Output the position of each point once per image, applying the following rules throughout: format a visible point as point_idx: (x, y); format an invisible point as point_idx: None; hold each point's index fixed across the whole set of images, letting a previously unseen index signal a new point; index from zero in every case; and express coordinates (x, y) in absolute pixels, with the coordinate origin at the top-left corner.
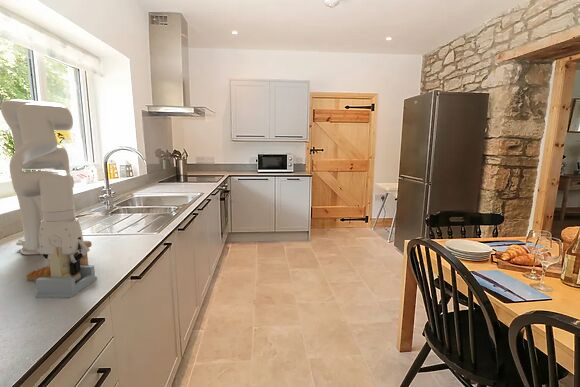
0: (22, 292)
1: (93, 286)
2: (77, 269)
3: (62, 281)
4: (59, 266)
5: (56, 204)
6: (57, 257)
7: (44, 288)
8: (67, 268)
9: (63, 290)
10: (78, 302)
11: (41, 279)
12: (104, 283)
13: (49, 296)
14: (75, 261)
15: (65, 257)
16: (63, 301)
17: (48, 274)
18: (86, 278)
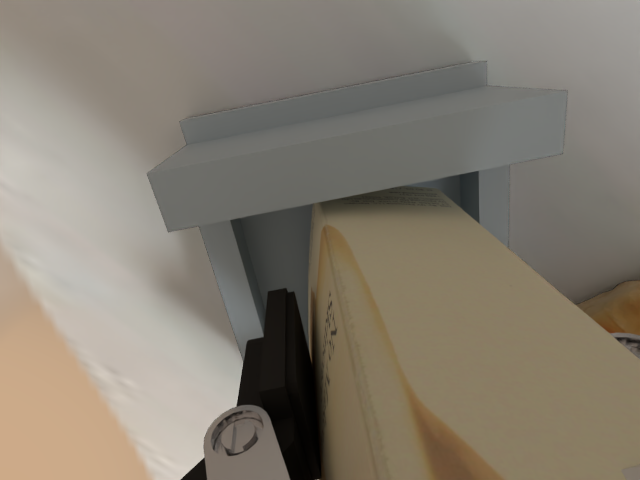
0: (634, 114)
1: (188, 298)
2: (247, 356)
3: (251, 150)
4: (371, 282)
5: None
6: (453, 400)
7: (434, 100)
8: (322, 322)
9: (260, 134)
10: (46, 60)
11: (507, 117)
12: (154, 347)
13: (361, 84)
14: (207, 430)
15: (340, 456)
16: (189, 50)
17: (604, 328)
18: (234, 331)
